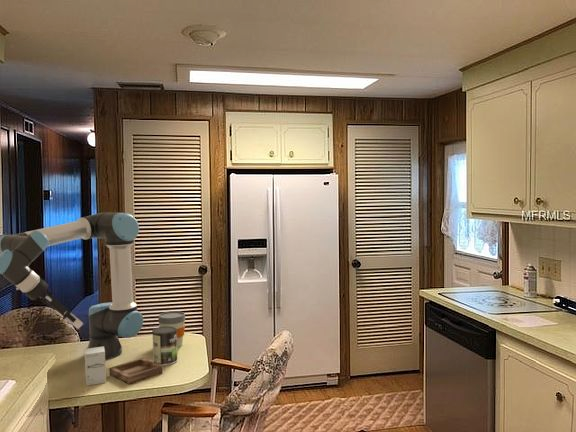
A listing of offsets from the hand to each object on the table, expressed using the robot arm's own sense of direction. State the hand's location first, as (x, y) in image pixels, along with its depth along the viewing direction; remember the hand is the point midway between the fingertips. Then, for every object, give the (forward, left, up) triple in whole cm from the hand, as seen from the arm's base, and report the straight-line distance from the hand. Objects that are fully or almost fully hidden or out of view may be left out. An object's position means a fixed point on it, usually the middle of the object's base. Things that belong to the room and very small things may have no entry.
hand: (75, 322), depth 187 cm
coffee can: (+3, +37, -25) cm, 45 cm away
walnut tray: (+6, +21, -25) cm, 33 cm away
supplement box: (0, +7, -25) cm, 26 cm away
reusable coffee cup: (-12, +51, -25) cm, 58 cm away
